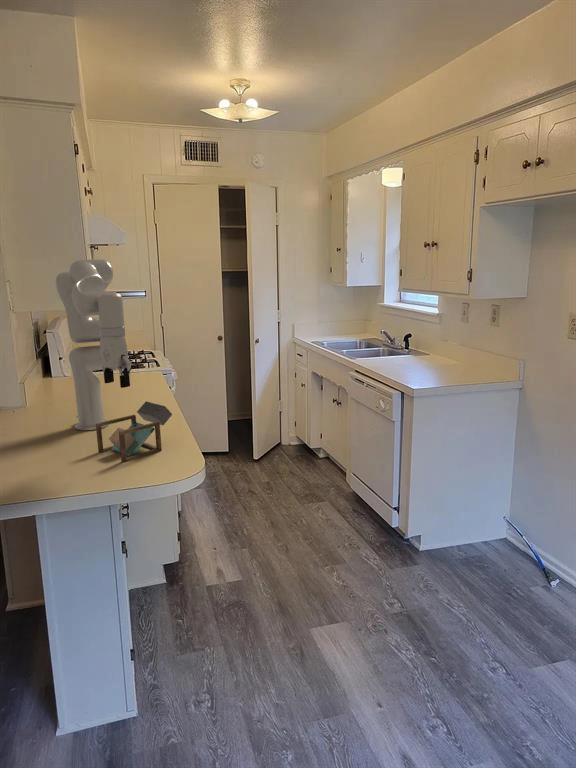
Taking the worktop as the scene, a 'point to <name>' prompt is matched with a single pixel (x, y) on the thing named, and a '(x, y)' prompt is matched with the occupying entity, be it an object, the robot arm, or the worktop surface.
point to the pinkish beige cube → (116, 442)
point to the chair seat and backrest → (148, 413)
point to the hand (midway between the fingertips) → (117, 384)
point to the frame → (122, 437)
